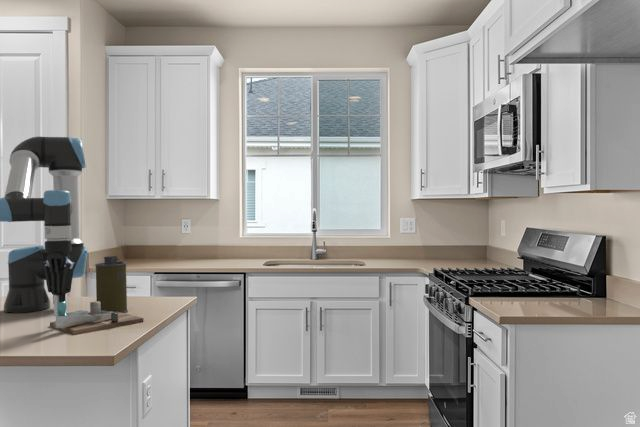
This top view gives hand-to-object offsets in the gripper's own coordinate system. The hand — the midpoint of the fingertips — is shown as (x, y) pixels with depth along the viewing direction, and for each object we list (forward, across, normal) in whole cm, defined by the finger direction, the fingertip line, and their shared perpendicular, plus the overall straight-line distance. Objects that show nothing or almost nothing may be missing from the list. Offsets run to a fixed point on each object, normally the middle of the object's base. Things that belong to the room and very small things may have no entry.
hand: (59, 315), depth 165 cm
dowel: (+4, +15, +8) cm, 17 cm away
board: (+4, +7, +8) cm, 11 cm away
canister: (+4, -4, +24) cm, 25 cm away
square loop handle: (+2, +7, +3) cm, 8 cm away
